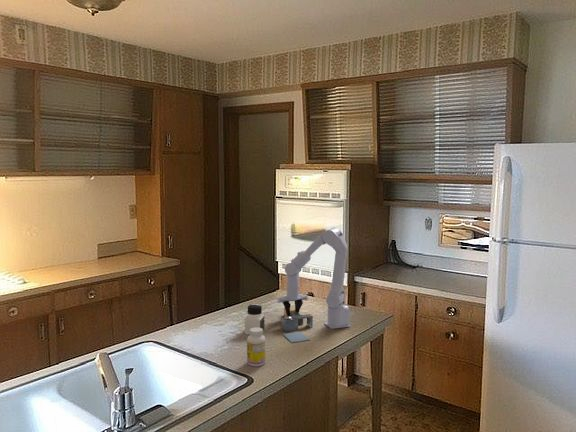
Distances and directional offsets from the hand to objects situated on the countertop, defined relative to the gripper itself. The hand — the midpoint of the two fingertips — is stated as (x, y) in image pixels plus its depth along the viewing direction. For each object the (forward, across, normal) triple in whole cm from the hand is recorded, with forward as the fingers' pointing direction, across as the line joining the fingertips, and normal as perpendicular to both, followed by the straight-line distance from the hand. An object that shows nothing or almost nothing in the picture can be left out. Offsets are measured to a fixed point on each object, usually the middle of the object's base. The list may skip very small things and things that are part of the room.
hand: (292, 316), depth 227 cm
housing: (+1, +3, +13) cm, 13 cm away
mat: (+1, +8, +23) cm, 24 cm away
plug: (+1, 0, +1) cm, 2 cm away
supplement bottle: (+2, +31, +42) cm, 52 cm away
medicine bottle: (+2, +22, +11) cm, 25 cm away
